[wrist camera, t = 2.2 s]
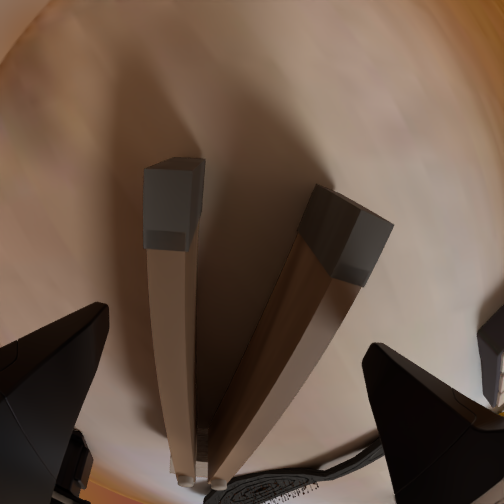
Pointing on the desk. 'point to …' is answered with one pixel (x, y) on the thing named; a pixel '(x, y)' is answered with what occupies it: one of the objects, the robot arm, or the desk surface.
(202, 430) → the tong hinge block
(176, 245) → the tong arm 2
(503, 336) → the calculator
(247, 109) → the desk surface
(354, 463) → the hairbrush
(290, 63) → the desk surface
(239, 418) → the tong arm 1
